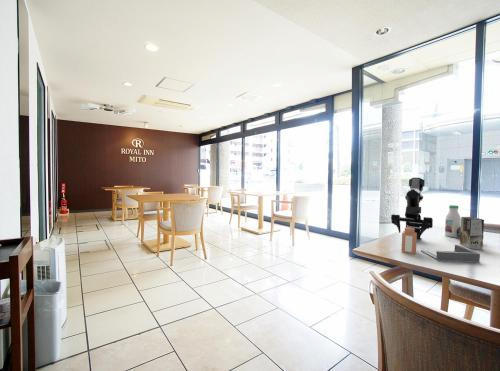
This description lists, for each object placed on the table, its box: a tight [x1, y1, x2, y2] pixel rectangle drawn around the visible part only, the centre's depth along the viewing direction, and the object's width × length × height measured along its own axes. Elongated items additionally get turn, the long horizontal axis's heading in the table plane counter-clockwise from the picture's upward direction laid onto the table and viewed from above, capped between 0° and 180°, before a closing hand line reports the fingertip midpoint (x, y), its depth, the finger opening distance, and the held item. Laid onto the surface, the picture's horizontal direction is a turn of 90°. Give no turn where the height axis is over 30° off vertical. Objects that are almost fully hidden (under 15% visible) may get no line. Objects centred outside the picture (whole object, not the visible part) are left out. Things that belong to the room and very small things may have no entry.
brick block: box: [400, 226, 418, 256], centre depth 132 cm, size 6×6×12 cm
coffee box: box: [459, 216, 485, 250], centre depth 142 cm, size 9×6×16 cm
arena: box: [421, 244, 481, 264], centre depth 125 cm, size 14×18×4 cm
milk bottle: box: [444, 204, 461, 238], centre depth 165 cm, size 8×8×20 cm
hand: (409, 233), depth 133 cm, fingers open, 9 cm apart
